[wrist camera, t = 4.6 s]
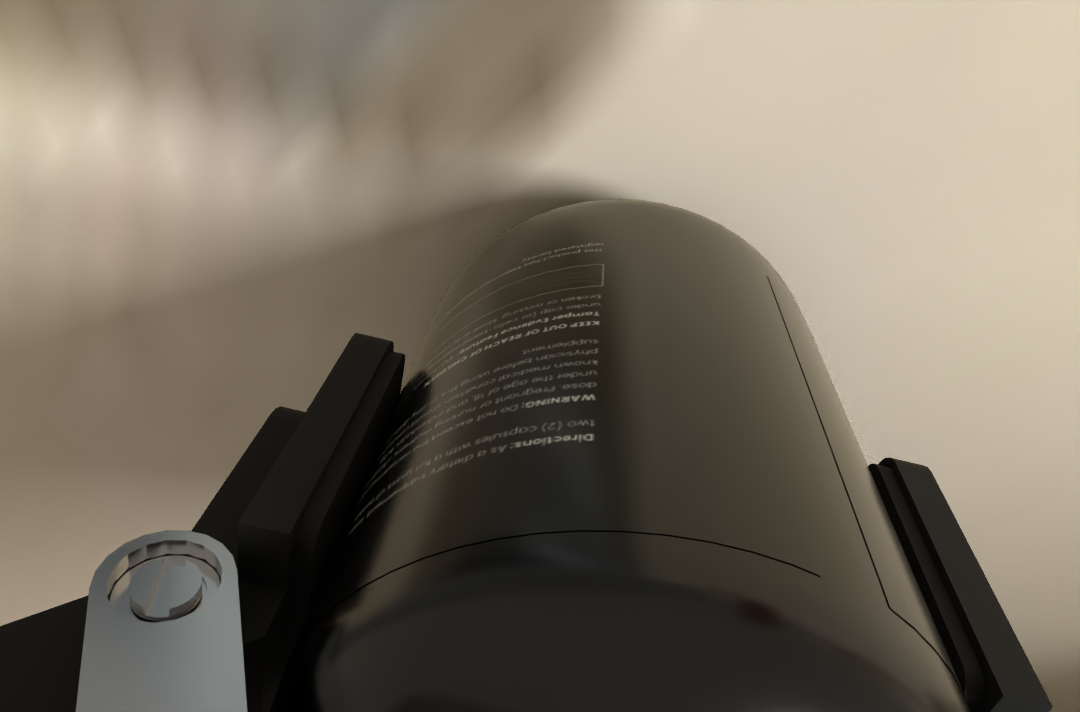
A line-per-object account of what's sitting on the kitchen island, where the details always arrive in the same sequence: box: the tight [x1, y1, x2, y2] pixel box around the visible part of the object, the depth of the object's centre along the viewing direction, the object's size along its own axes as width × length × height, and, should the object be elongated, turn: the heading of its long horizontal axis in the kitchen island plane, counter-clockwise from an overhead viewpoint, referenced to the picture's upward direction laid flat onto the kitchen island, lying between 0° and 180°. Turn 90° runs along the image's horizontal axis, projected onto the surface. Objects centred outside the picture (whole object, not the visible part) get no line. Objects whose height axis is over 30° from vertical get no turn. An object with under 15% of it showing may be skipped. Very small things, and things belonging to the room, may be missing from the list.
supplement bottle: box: [269, 199, 970, 712], centre depth 9 cm, size 7×7×12 cm
